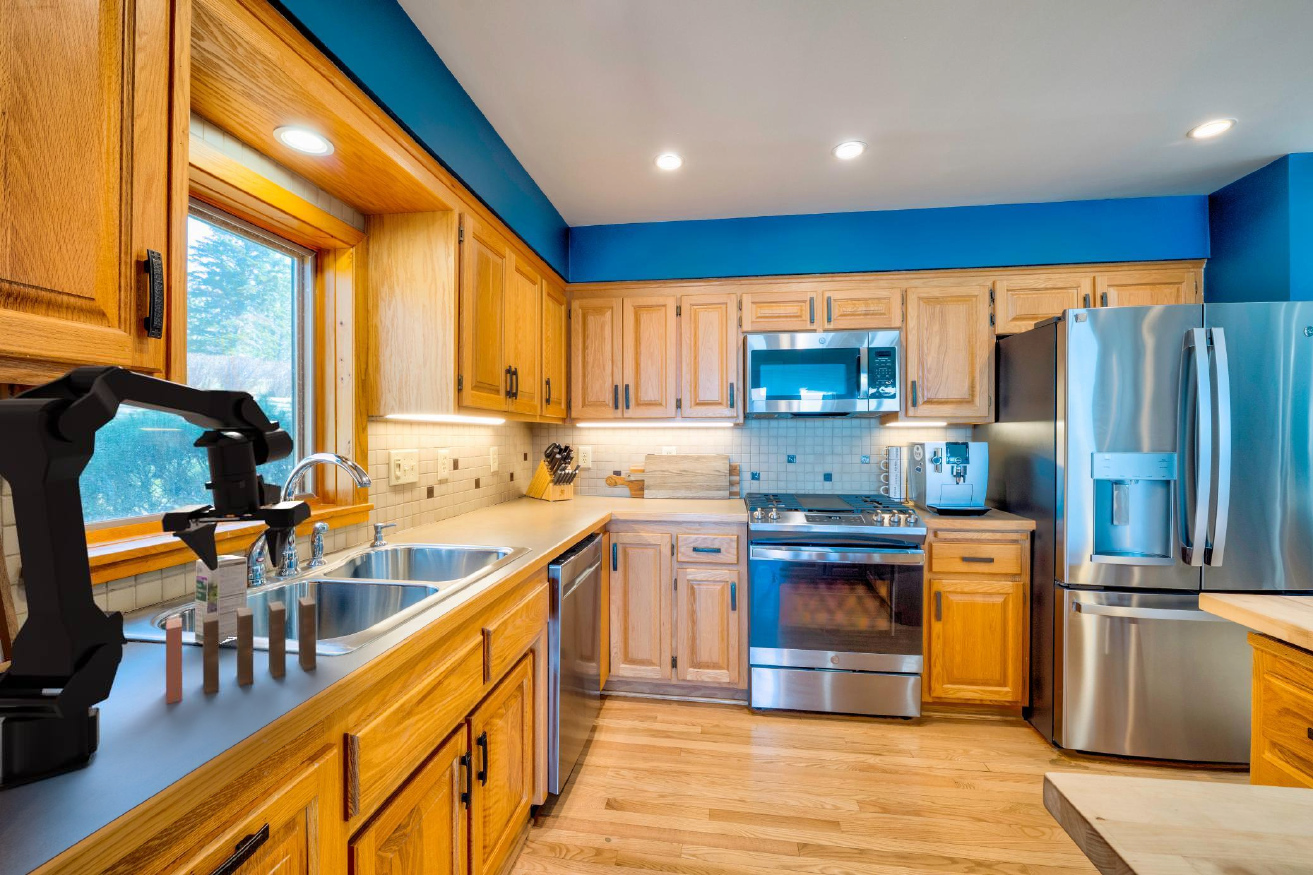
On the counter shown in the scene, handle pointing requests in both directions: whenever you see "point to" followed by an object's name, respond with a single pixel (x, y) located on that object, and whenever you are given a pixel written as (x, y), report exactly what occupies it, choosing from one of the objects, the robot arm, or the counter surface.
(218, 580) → the syrup box
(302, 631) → the domino
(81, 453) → the robot arm
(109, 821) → the counter surface
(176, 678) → the domino
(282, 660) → the domino
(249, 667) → the domino
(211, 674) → the domino
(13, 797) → the counter surface
